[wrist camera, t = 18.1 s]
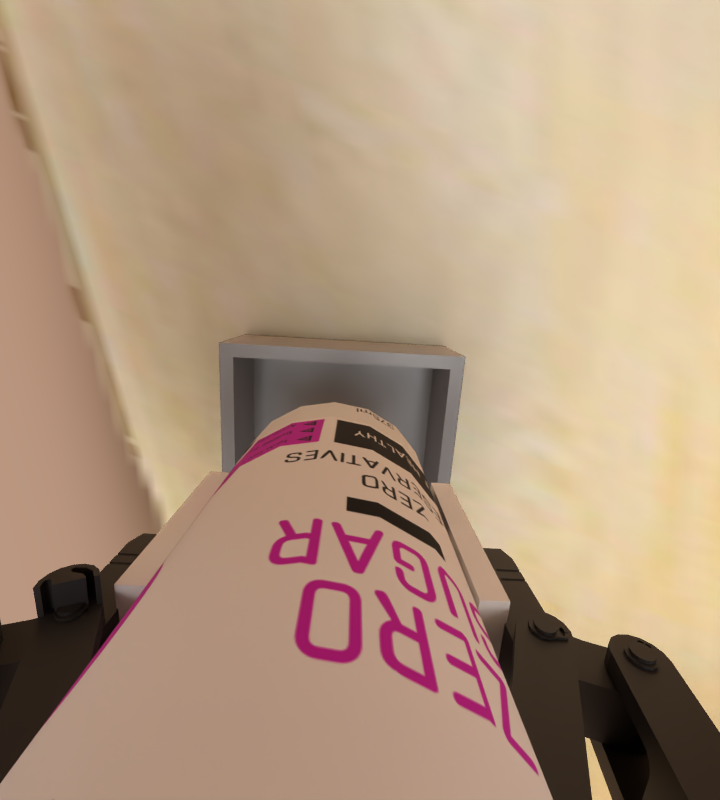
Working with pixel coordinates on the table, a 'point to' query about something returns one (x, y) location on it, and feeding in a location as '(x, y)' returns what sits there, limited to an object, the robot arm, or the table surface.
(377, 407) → the tote
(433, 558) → the supplement can
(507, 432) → the table surface
